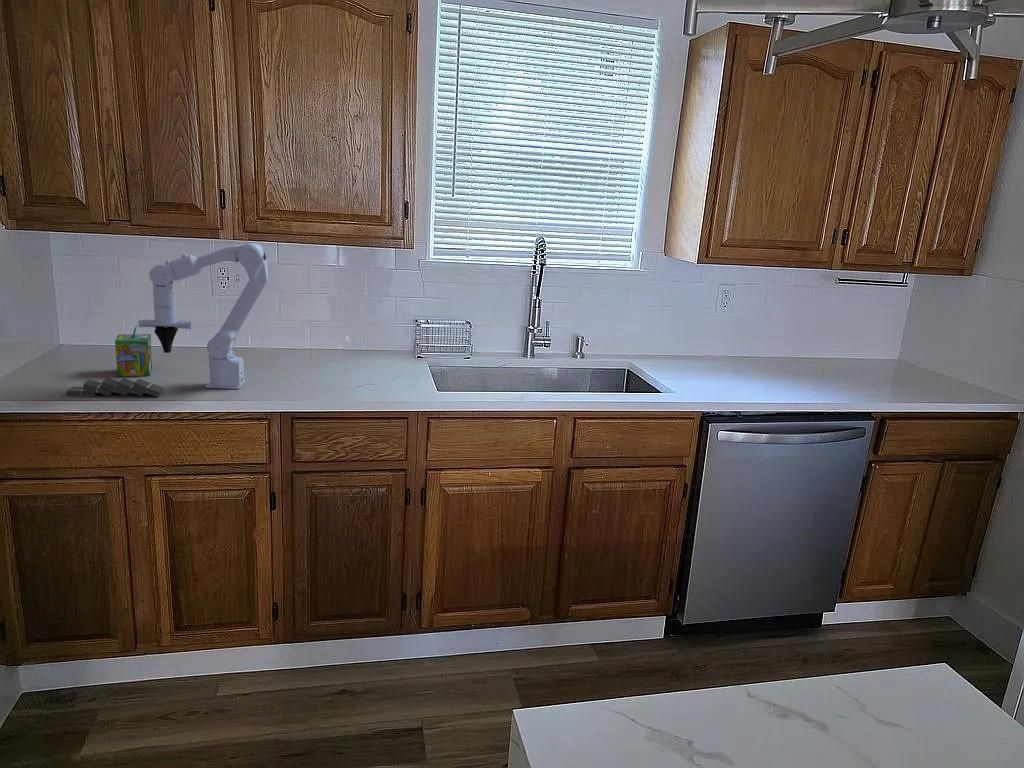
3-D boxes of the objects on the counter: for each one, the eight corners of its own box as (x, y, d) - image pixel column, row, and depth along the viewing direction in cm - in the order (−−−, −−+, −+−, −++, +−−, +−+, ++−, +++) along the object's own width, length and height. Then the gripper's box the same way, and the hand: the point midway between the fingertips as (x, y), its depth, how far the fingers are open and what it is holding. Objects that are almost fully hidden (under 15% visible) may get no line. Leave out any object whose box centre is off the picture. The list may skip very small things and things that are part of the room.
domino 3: (133, 386, 205) (107, 377, 203) (128, 391, 201) (102, 381, 199) (131, 392, 205) (105, 382, 203) (126, 396, 201) (100, 386, 199)
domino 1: (100, 386, 204) (72, 386, 202) (94, 391, 199) (66, 390, 198) (100, 392, 204) (73, 392, 203) (94, 396, 200) (66, 396, 198)
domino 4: (148, 387, 206) (123, 377, 204) (143, 391, 202) (118, 381, 200) (146, 392, 206) (121, 382, 204) (141, 396, 202) (116, 387, 200)
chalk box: (120, 369, 227) (117, 323, 223) (153, 369, 230) (150, 323, 227) (116, 377, 219) (112, 329, 215) (150, 376, 222) (147, 329, 218)
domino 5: (164, 388, 206) (139, 378, 204) (159, 392, 202) (134, 382, 200) (162, 393, 206) (137, 383, 205) (157, 397, 202) (132, 387, 200)
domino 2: (115, 386, 204) (88, 378, 202) (111, 391, 200) (84, 383, 198) (114, 391, 204) (87, 384, 202) (110, 396, 200) (82, 389, 198)
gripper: (195, 305, 214) (197, 350, 217) (143, 302, 212) (146, 348, 215) (187, 309, 207) (190, 355, 210) (134, 306, 205) (137, 353, 208)
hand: (167, 352), depth 212 cm, fingers closed
